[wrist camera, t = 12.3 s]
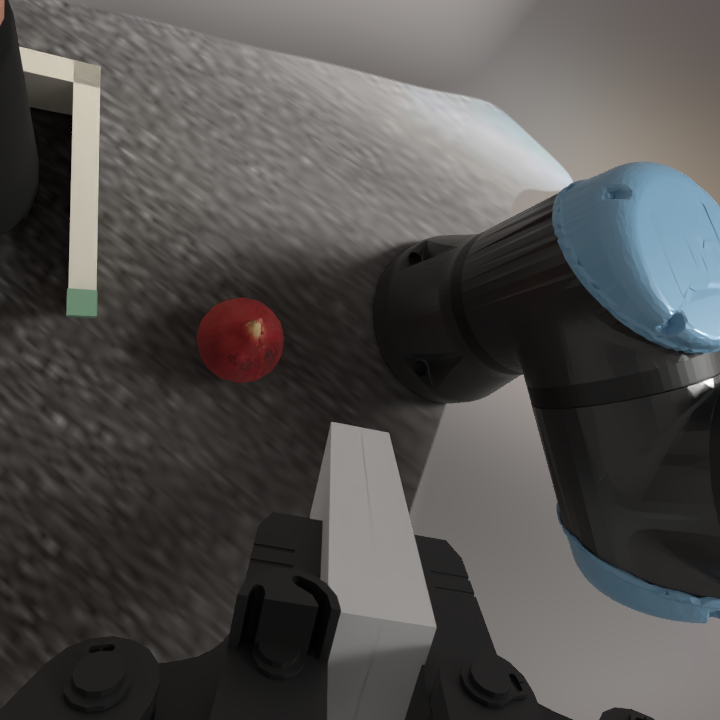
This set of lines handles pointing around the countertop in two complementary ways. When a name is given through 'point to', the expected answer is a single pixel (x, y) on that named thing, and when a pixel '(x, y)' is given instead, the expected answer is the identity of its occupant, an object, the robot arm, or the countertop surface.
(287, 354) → the countertop surface
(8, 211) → the coffee jar
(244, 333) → the onion
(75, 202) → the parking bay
